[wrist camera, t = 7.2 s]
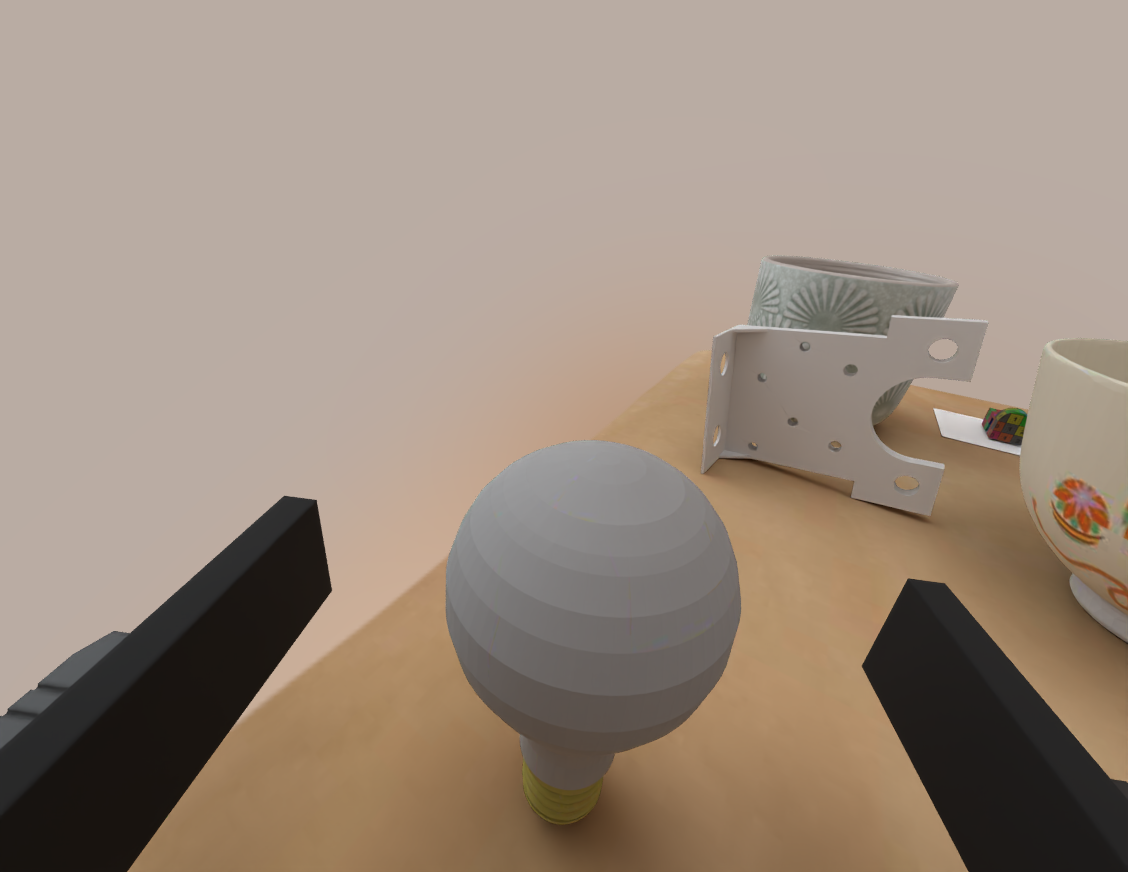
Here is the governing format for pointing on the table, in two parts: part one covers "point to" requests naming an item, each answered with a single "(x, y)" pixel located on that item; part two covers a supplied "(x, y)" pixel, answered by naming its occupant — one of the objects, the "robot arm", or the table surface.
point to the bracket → (830, 400)
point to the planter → (845, 302)
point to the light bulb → (590, 609)
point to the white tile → (986, 428)
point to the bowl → (1082, 470)
